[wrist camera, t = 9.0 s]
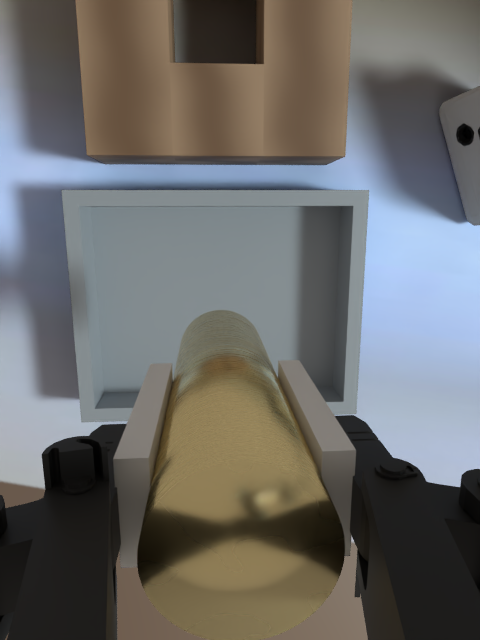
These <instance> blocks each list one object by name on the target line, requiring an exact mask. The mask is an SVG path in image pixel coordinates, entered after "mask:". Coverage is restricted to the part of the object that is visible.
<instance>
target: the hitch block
mask: <svg viewBox="0 0 480 640" xmlns="http://www.w3.org/2000/svg"><path fill="white" fill-rule="evenodd" d="M75 1H76V14H77V28H78V41H79V55H80V69H81V82H82V96H83V110H84V123H85V137H86V151H87V155H88V156H90V157H92V158H94V159H96V160H98V161H100V162H102V163H104V164H192V165H327V164H329V163H331V162H334V161H336V160H338V159H340V158H343V157H345V151H346V129H347V107H348V85H349V63H350V41H351V20H352V0H256V64H220V63H175V43H174V11H173V0H75Z"/></svg>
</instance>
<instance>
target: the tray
mask: <svg viewBox="0 0 480 640" xmlns="http://www.w3.org/2000/svg"><path fill="white" fill-rule="evenodd" d="M61 191H62V202H63V214H64V226H65V237H66V249H67V260H68V272H69V283H70V295H71V307H72V318H73V330H74V341H75V353H76V364H77V376H78V387H79V399H80V411H81V422H108V421H128V420H129V417H130V415H131V412H132V410H133V407H134V405H135V402H136V399H137V397H138V394H139V392H140V389H141V387H142V384H143V382H144V379H145V377H146V374H147V371H148V369H149V366H150V364H157V363H172V374H173V377H174V372H175V367H176V362H177V358H178V353H179V348H180V343H181V339H182V336H183V334H184V332H185V330H186V328H187V327H188V326H189V324H190V323H191V322H192V321H193V320H195V319H196V318H197V317H199V316H200V315H202V314H204V313H207V312H210V311H214V310H228V311H233V312H236V313H238V314H240V315H242V316H244V317H245V318H247V319H248V320H249V321H250V322H251V323H252V324H253V325H254V327H255V328H256V330H257V332H258V334H259V336H260V338H261V340H262V343H263V345H264V347H265V350H266V352H267V354H268V356H269V359H270V361H271V363H272V365H273V368H274V370H275V372H276V375H277V377H278V361H282V360H299V361H300V362H301V364H302V365H303V367H304V369H305V370H306V372H307V373H308V375H309V376H310V378H311V380H312V381H313V383H314V384H315V386H316V388H317V389H318V391H319V392H320V394H321V395H322V397H323V399H324V400H325V402H326V403H327V405H328V406H329V408H330V410H331V411H332V413H333V414H334V415H339V414H356V409H357V391H358V374H359V356H360V339H361V322H362V304H363V287H364V270H365V252H366V235H367V218H368V200H369V190H61Z"/></svg>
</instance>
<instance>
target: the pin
mask: <svg viewBox="0 0 480 640" xmlns="http://www.w3.org/2000/svg"><path fill="white" fill-rule="evenodd" d="M344 555H345V538H344V532H343V527H342V524H341V521H340V518H339V516H338V513H337V511H336V509H335V506H334V504H333V502H332V500H331V497H330V495H329V493H328V491H327V488H326V486H325V484H324V481H323V479H322V477H321V475H320V472H319V470H318V468H317V466H316V463H315V461H314V459H313V456H312V454H311V452H310V450H309V447H308V445H307V443H306V441H305V438H304V436H303V434H302V431H301V429H300V427H299V425H298V422H297V420H296V418H295V415H294V413H293V411H292V409H291V406H290V404H289V402H288V400H287V397H286V395H285V393H284V390H283V388H282V386H281V384H280V381H279V379H278V377H277V375H276V372H275V370H274V368H273V365H272V363H271V361H270V359H269V356H268V354H267V352H266V350H265V347H264V345H263V343H262V340H261V338H260V336H259V334H258V332H257V330H256V328H255V327H254V325H253V324H252V323H251V322H250V321H249V320H248V319H247V318H245V317H244V316H242V315H240V314H238V313H236V312H233V311H228V310H214V311H210V312H207V313H204V314H202V315H200V316H199V317H197V318H196V319H195V320H193V321H192V322H191V323H190V324H189V326H188V327H187V328H186V330H185V332H184V334H183V336H182V339H181V343H180V348H179V353H178V358H177V362H176V367H175V372H174V377H173V383H172V388H171V393H170V397H169V402H168V407H167V412H166V416H165V421H164V426H163V431H162V435H161V440H160V445H159V450H158V454H157V459H156V464H155V468H154V473H153V478H152V483H151V487H150V491H149V495H148V499H147V504H146V509H145V514H144V518H143V523H142V528H141V533H140V537H139V543H138V549H137V566H138V573H139V577H140V580H141V583H142V586H143V588H144V590H145V593H146V595H147V597H148V598H149V600H150V601H151V603H152V604H153V605H154V607H155V608H156V609H157V610H158V611H159V612H160V613H161V614H162V615H163V616H164V617H165V618H166V619H168V620H169V621H170V622H171V623H173V624H174V625H176V626H177V627H179V628H181V629H182V630H184V631H186V632H188V633H191V634H193V635H196V636H199V637H202V638H205V639H209V640H261V639H265V638H269V637H272V636H275V635H278V634H281V633H283V632H285V631H287V630H289V629H291V628H293V627H295V626H296V625H298V624H300V623H301V622H303V621H304V620H305V619H307V618H308V617H309V616H311V615H312V614H313V613H314V612H315V611H316V610H317V609H318V608H319V607H320V606H321V605H322V604H323V603H324V601H325V600H326V599H327V598H328V596H329V595H330V594H331V592H332V590H333V589H334V587H335V585H336V583H337V581H338V578H339V576H340V573H341V570H342V567H343V563H344Z"/></svg>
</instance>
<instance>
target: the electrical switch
mask: <svg viewBox="0 0 480 640" xmlns="http://www.w3.org/2000/svg"><path fill="white" fill-rule="evenodd" d="M439 116H440V120H441V124H442V128H443V132H444V135H445V139H446V143H447V147H448V151H449V154H450V158H451V162H452V166H453V170H454V173H455V177H456V181H457V185H458V189H459V192H460V196H461V200H462V204H463V208H464V211H465V215H466V219H467V221H468V222H469V223H471V224H472V225H474V226H475V225H480V86H478V87H476V88H474V89H472V90H470V91H467V92H465V93H462V94H460V95H458V96H456V97H454V98H451V99H449V100H447V101H445V102H443V103H442V105H441V107H440V109H439Z"/></svg>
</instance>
